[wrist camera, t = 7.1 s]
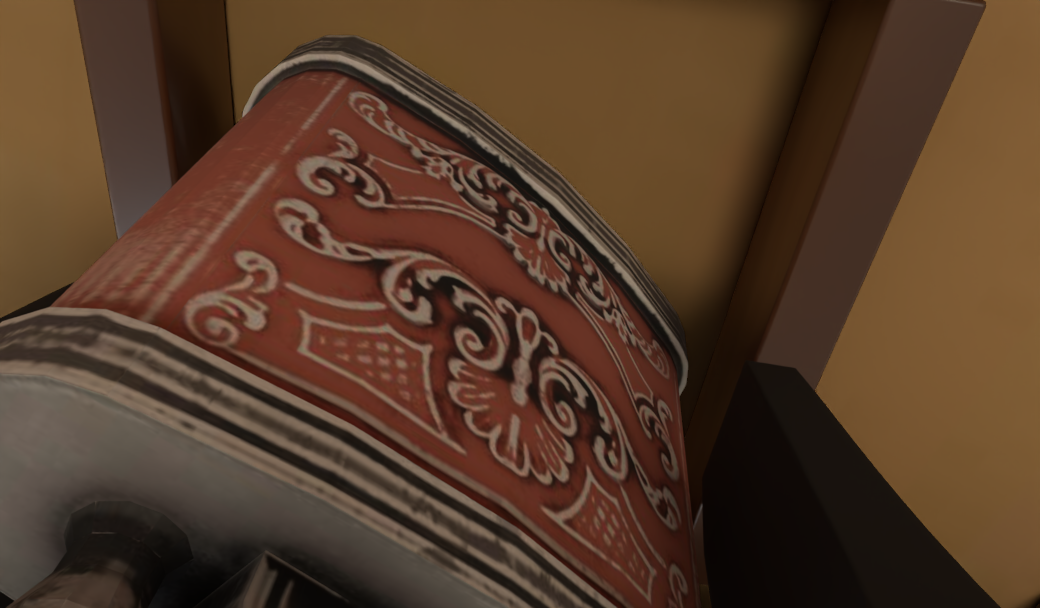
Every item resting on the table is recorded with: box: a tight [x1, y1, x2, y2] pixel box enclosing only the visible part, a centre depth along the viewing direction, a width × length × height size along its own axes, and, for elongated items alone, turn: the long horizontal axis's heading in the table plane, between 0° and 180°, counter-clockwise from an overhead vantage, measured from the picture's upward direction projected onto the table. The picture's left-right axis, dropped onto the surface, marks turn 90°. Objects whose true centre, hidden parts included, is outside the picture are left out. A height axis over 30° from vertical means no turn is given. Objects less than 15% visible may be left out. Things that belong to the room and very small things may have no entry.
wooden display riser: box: [74, 0, 1040, 608], centre depth 14 cm, size 18×21×4 cm
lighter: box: [0, 35, 701, 608], centre depth 9 cm, size 8×3×10 cm, turn 47°
